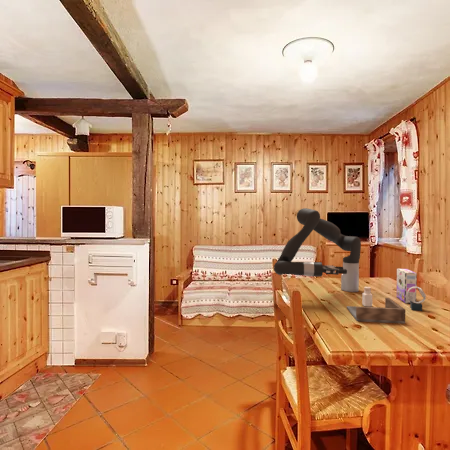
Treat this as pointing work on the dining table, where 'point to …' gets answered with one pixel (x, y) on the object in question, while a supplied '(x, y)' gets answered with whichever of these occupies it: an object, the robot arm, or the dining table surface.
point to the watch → (416, 305)
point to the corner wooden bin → (379, 313)
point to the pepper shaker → (367, 297)
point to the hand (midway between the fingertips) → (344, 270)
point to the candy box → (406, 285)
